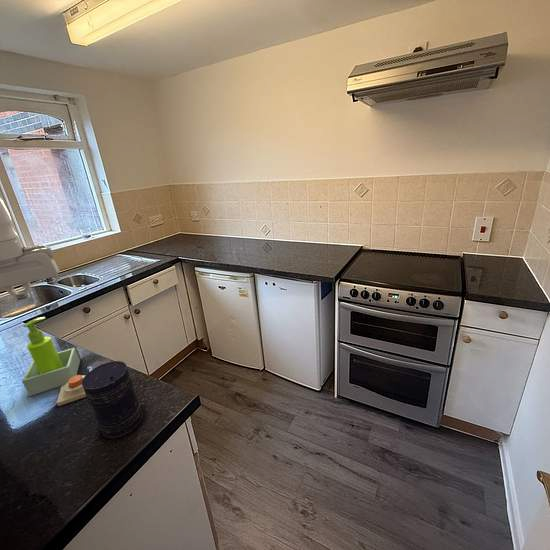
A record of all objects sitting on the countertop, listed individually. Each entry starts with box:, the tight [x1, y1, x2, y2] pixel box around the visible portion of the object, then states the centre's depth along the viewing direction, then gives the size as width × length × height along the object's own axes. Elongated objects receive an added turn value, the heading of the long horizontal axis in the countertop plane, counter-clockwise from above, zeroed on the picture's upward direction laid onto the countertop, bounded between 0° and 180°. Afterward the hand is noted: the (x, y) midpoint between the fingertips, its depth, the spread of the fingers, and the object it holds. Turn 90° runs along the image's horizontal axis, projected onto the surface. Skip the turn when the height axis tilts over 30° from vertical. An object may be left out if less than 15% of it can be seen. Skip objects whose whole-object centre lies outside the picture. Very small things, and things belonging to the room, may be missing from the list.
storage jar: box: [82, 360, 144, 439], centre depth 73 cm, size 10×10×15 cm
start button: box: [68, 374, 83, 388], centre depth 87 cm, size 4×4×2 cm
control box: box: [55, 374, 87, 407], centre depth 88 cm, size 10×8×3 cm
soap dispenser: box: [22, 316, 63, 374], centre depth 92 cm, size 6×7×20 cm
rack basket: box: [21, 347, 81, 397], centre depth 95 cm, size 12×12×6 cm
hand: (23, 299), depth 83 cm, fingers closed
